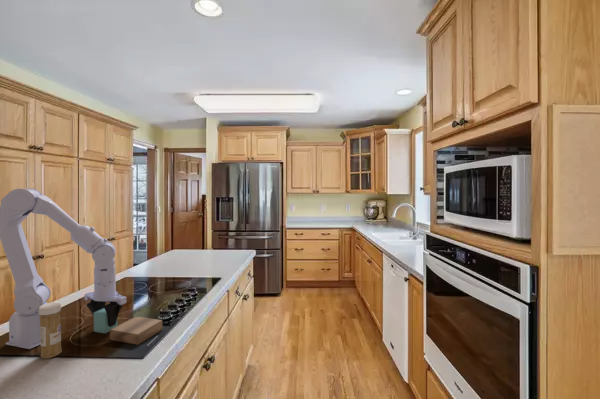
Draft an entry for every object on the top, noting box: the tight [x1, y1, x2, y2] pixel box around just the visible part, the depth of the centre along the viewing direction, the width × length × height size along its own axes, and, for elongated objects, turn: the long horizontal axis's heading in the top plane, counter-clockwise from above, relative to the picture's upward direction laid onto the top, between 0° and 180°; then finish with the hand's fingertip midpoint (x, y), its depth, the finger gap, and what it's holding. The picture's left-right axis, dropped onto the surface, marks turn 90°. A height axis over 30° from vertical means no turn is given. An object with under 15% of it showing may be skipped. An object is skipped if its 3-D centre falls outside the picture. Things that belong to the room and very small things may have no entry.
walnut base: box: [109, 316, 163, 346], centre depth 97 cm, size 10×10×3 cm
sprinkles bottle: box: [39, 302, 62, 359], centre depth 85 cm, size 5×5×14 cm
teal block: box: [93, 308, 119, 334], centre depth 100 cm, size 4×4×6 cm
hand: (105, 324), depth 100 cm, fingers closed on teal block, 4 cm apart
